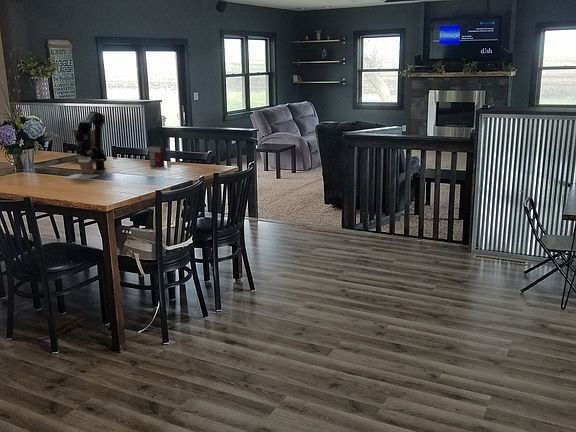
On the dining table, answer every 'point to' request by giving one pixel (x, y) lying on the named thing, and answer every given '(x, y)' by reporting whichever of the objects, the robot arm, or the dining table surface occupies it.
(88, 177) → the mat
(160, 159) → the red and grey box
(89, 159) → the walnut block
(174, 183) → the dining table surface
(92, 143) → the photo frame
